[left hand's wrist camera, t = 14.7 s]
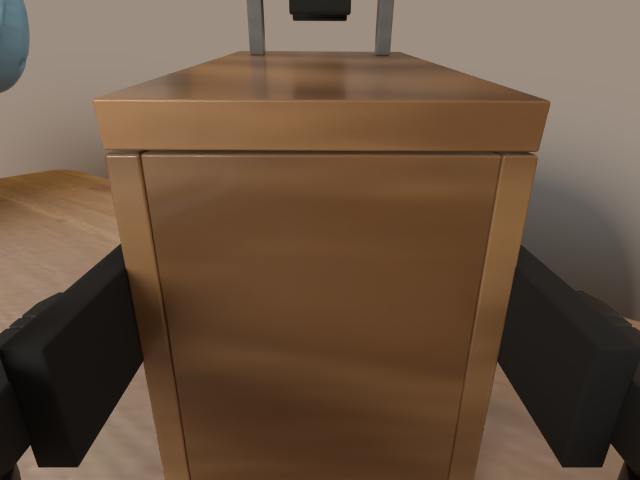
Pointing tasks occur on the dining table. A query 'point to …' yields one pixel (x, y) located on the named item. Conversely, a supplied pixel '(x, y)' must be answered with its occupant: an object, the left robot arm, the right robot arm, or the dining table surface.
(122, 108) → the lid
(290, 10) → the right robot arm
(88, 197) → the dining table surface
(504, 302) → the chest
